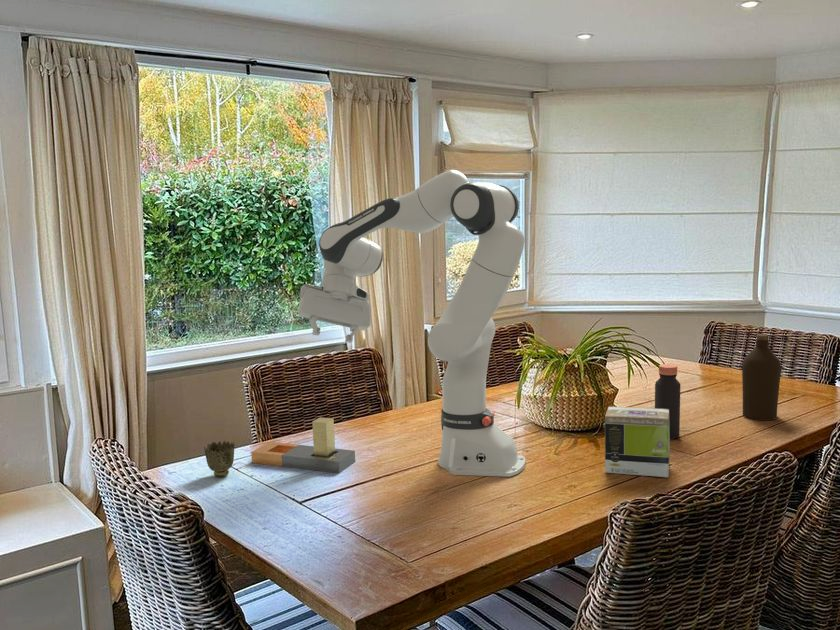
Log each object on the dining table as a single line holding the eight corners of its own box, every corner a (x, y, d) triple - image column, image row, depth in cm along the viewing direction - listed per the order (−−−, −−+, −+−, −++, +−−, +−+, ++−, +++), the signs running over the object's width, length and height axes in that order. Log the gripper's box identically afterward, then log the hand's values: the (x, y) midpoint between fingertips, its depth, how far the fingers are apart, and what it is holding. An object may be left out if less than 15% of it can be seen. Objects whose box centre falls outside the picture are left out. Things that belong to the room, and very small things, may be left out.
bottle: (667, 430, 218) (668, 362, 215) (684, 436, 212) (686, 366, 209) (648, 434, 215) (650, 365, 212) (666, 440, 209) (667, 369, 206)
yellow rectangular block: (335, 463, 198) (333, 418, 197) (328, 468, 195) (326, 422, 193) (322, 461, 200) (319, 417, 198) (314, 466, 196) (312, 421, 194)
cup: (228, 481, 187) (226, 450, 186) (200, 480, 189) (198, 449, 187) (241, 471, 194) (239, 441, 193) (214, 469, 196) (212, 440, 195)
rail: (355, 461, 199) (354, 450, 199) (339, 473, 191) (338, 461, 190) (270, 452, 209) (270, 441, 208) (251, 462, 200) (251, 452, 200)
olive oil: (755, 422, 222) (758, 338, 219) (733, 413, 233) (735, 333, 229) (786, 419, 225) (790, 336, 221) (763, 410, 235) (766, 330, 231)
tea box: (669, 465, 190) (670, 407, 188) (668, 479, 180) (669, 419, 178) (607, 460, 195) (608, 404, 192) (603, 473, 185) (604, 415, 183)
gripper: (305, 277, 200) (299, 326, 195) (375, 295, 209) (371, 342, 204) (297, 285, 205) (291, 333, 200) (365, 302, 214) (362, 348, 209)
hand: (332, 338), depth 202 cm, fingers open, 8 cm apart
